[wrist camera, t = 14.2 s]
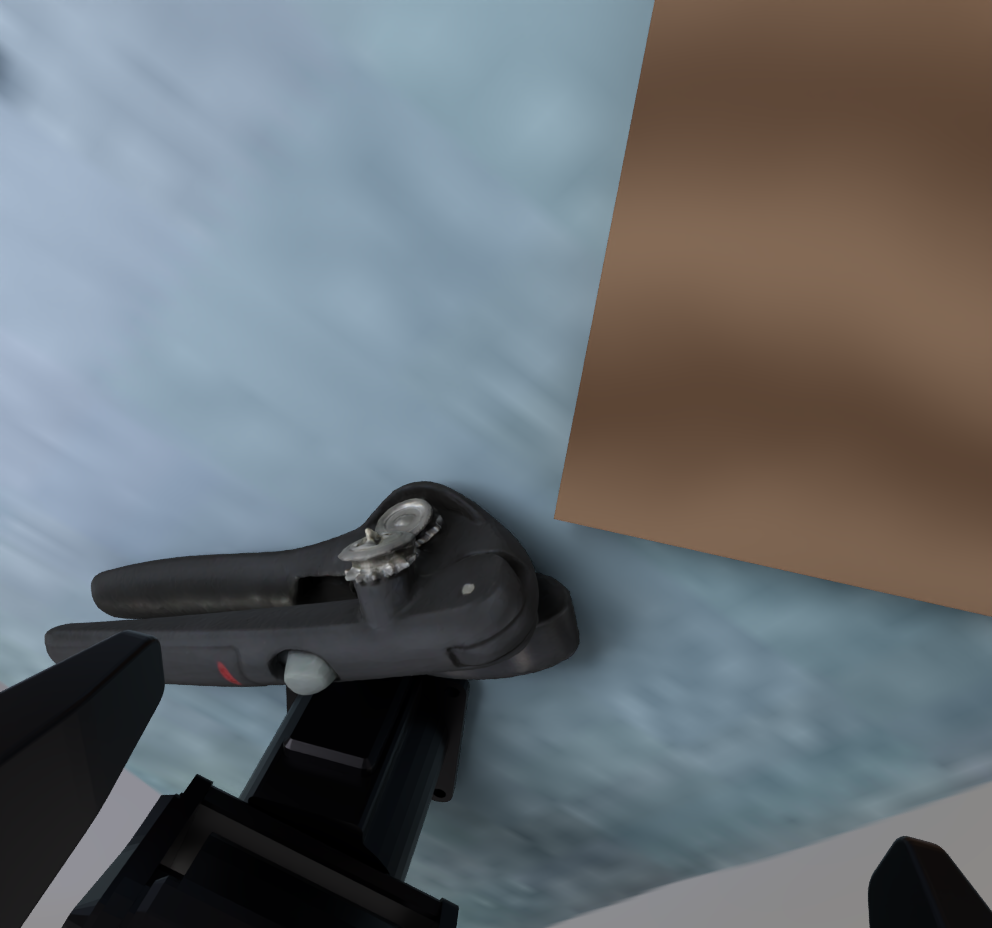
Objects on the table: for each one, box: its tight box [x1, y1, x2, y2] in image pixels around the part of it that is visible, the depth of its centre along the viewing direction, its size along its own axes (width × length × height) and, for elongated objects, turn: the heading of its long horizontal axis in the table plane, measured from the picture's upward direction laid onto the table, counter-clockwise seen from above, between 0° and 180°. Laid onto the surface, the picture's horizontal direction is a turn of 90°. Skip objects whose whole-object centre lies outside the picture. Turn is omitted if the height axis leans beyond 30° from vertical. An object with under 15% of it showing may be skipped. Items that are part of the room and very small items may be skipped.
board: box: [554, 0, 992, 617], centre depth 15 cm, size 20×14×1 cm
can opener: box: [45, 481, 579, 695], centre depth 23 cm, size 18×7×6 cm, turn 105°
